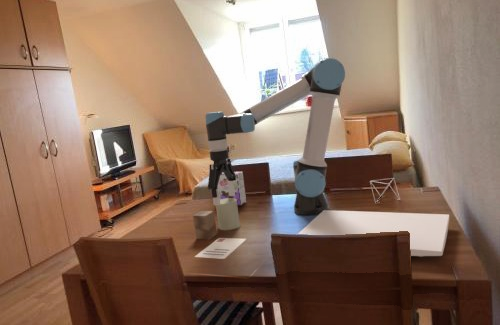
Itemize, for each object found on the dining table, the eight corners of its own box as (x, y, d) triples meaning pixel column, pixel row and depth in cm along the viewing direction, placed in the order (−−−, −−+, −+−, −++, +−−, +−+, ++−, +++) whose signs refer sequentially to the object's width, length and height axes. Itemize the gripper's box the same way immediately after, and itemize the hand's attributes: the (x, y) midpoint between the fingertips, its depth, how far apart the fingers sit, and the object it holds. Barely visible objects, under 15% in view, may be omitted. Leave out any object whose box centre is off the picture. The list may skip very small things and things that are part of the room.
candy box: (218, 204, 203) (214, 173, 201) (225, 201, 208) (221, 171, 206) (240, 205, 196) (236, 173, 194) (247, 202, 201) (242, 171, 198)
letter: (246, 239, 147) (246, 238, 147) (224, 259, 131) (224, 258, 131) (219, 238, 152) (218, 237, 152) (194, 257, 136) (194, 256, 136)
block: (217, 234, 157) (213, 211, 155) (209, 240, 151) (206, 215, 150) (204, 234, 159) (200, 211, 158) (196, 240, 154) (192, 215, 152)
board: (293, 252, 130) (291, 239, 130) (325, 221, 157) (323, 210, 157) (442, 267, 107) (441, 251, 106) (449, 227, 134) (449, 214, 134)
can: (237, 230, 159) (233, 202, 157) (216, 231, 161) (212, 203, 159) (242, 223, 168) (238, 196, 166) (222, 224, 170) (218, 197, 168)
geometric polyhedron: (402, 197, 175) (401, 177, 174) (397, 204, 166) (396, 183, 165) (374, 196, 182) (372, 177, 181) (368, 203, 173) (366, 183, 172)
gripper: (224, 145, 172) (230, 192, 175) (194, 155, 149) (201, 208, 153) (239, 144, 169) (245, 192, 172) (211, 154, 146) (218, 209, 150)
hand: (224, 200), depth 162 cm, fingers open, 13 cm apart
